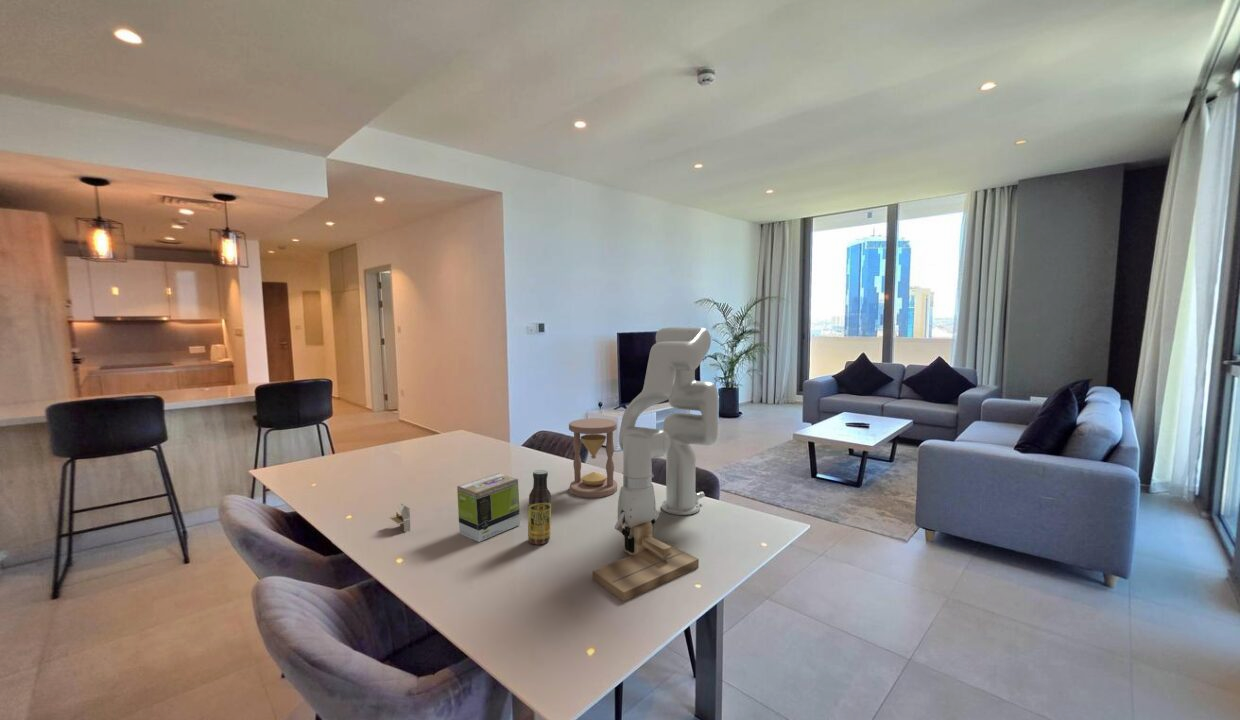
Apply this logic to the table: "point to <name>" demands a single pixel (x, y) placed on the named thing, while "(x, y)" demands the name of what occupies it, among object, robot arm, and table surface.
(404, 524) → the architectural model
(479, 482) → the tea box
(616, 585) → the board
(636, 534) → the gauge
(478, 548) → the table surface
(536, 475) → the sauce bottle
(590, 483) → the hourglass
